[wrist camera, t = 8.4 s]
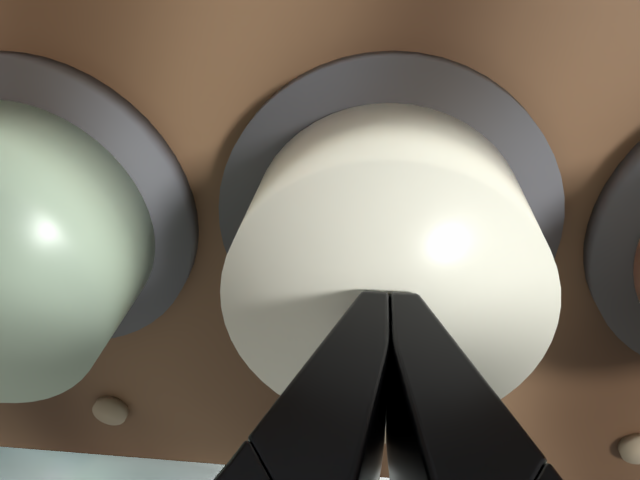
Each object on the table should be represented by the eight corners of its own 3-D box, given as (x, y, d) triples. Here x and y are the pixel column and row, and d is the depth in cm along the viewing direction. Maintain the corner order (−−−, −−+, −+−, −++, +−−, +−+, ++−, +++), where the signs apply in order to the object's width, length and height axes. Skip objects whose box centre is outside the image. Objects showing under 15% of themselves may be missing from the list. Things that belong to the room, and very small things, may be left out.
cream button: (549, 103, 9) (599, 163, 7) (502, 343, 11) (527, 439, 9) (241, 101, 9) (199, 156, 7) (263, 329, 12) (237, 418, 10)
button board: (1127, -95, 8) (1321, -96, 7) (776, 460, 15) (826, 531, 13) (-176, -63, 11) (-286, -58, 9) (26, 406, 17) (-14, 460, 16)
